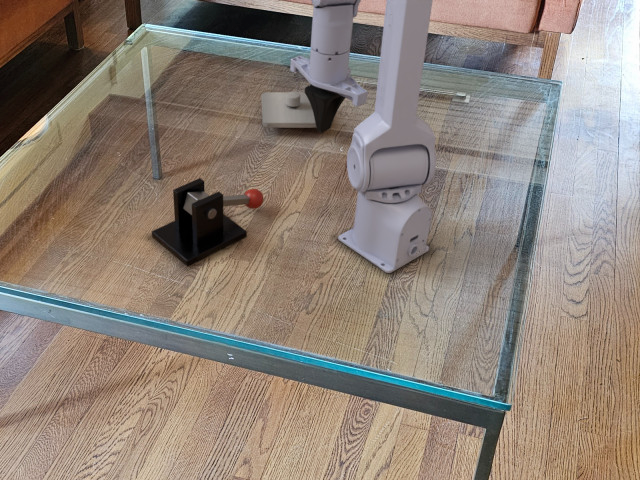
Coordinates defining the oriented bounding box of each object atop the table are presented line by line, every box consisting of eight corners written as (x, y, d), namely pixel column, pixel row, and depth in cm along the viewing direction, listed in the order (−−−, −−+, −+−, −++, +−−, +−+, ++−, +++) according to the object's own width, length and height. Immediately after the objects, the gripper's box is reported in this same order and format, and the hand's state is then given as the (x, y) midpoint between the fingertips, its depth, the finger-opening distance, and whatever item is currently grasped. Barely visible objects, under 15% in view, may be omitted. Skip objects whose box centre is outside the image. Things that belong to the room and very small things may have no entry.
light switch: (324, 138, 132) (327, 109, 129) (262, 138, 132) (263, 109, 129) (319, 107, 139) (321, 79, 136) (260, 107, 139) (261, 79, 136)
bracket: (210, 209, 118) (209, 165, 113) (246, 237, 113) (247, 192, 108) (151, 237, 113) (148, 192, 108) (187, 266, 108) (185, 221, 103)
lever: (251, 202, 118) (256, 184, 117) (264, 211, 117) (269, 193, 115) (181, 209, 110) (186, 189, 108) (194, 219, 108) (199, 199, 107)
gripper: (386, 56, 119) (375, 140, 128) (316, 22, 127) (310, 103, 136) (351, 70, 115) (342, 155, 125) (281, 35, 124) (278, 116, 133)
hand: (323, 129), depth 130 cm, fingers closed
